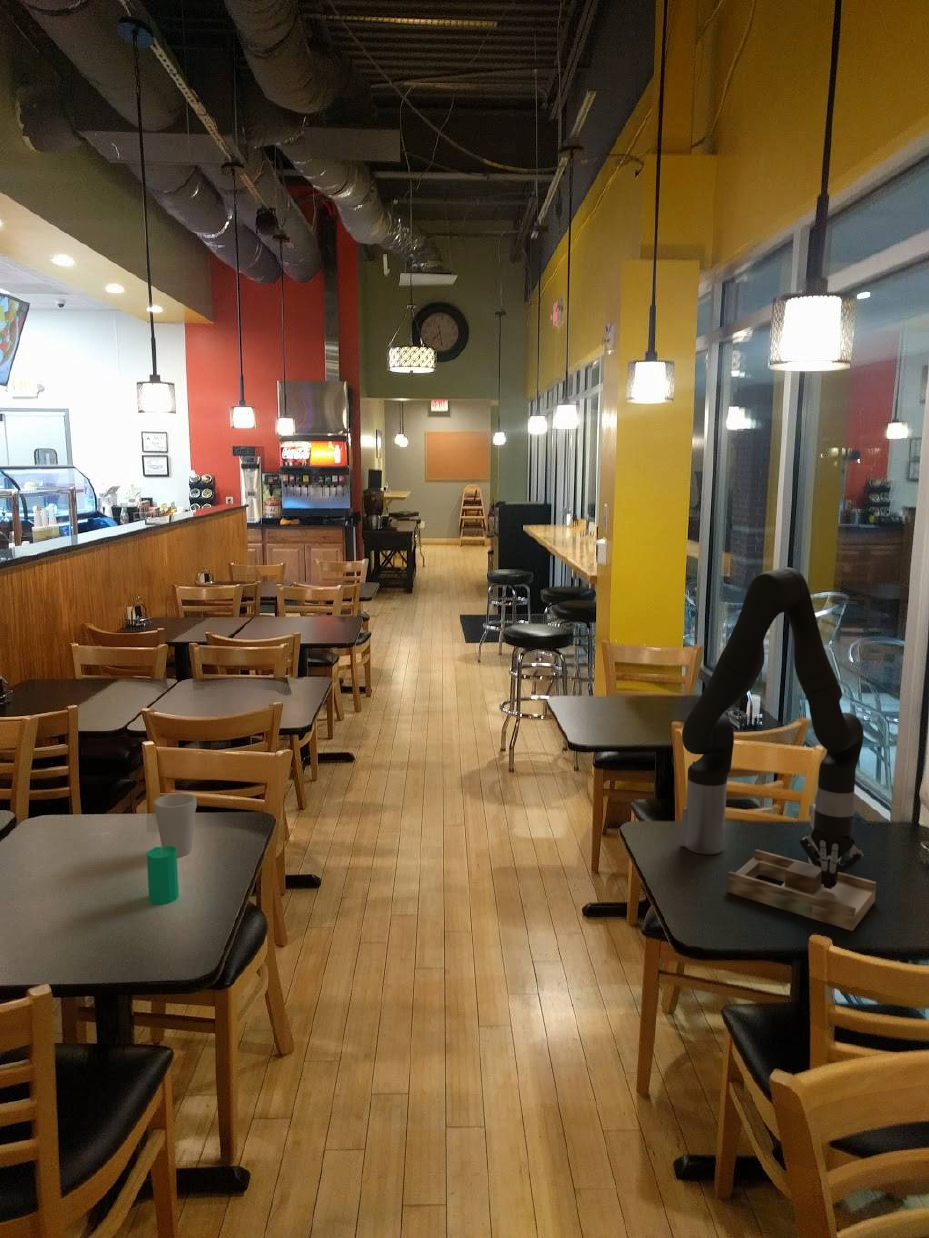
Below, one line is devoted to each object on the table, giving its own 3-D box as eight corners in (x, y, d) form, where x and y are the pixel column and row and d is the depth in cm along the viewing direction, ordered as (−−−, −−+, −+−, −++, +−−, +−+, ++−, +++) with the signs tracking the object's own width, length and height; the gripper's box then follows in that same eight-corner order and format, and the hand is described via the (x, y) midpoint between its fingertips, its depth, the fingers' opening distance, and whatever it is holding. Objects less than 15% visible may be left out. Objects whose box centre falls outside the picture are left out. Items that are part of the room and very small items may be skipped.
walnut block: (784, 885, 189) (785, 870, 188) (794, 875, 193) (795, 860, 193) (813, 893, 185) (814, 878, 184) (822, 883, 190) (823, 868, 189)
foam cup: (206, 850, 211) (204, 798, 209) (175, 863, 204) (172, 810, 202) (179, 841, 216) (177, 790, 214) (148, 854, 209) (145, 801, 207)
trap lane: (727, 892, 192) (728, 872, 191) (755, 867, 204) (756, 849, 204) (852, 931, 176) (854, 909, 175) (874, 901, 188) (876, 881, 187)
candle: (184, 893, 189) (182, 840, 187) (166, 906, 184) (164, 851, 182) (161, 889, 191) (158, 836, 189) (142, 901, 185) (139, 847, 184)
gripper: (796, 806, 184) (790, 884, 187) (862, 821, 176) (856, 903, 179) (808, 796, 190) (802, 872, 193) (873, 811, 182) (866, 890, 185)
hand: (828, 887), depth 186 cm, fingers closed
